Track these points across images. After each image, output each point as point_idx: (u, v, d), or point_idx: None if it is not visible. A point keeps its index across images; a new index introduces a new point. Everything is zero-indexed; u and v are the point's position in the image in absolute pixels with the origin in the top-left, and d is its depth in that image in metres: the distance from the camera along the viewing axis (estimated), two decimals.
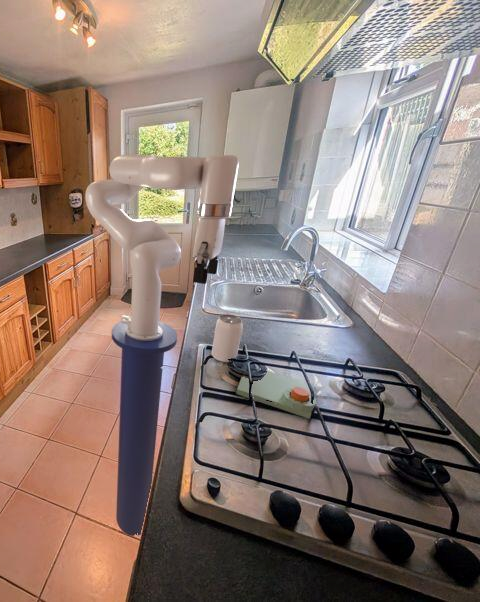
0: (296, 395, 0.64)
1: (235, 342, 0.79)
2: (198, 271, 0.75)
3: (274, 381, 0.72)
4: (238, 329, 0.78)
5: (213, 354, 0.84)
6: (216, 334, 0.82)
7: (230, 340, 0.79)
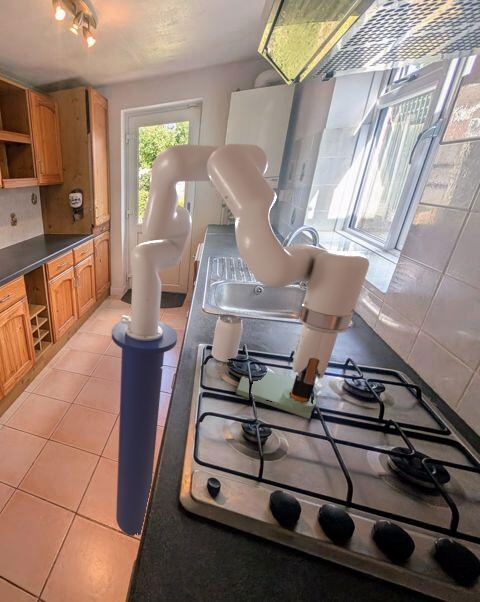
0: (295, 398, 0.64)
1: (235, 342, 0.79)
2: (301, 385, 0.62)
3: (274, 381, 0.72)
4: (238, 329, 0.78)
5: (213, 354, 0.84)
6: (216, 334, 0.82)
7: (230, 340, 0.79)
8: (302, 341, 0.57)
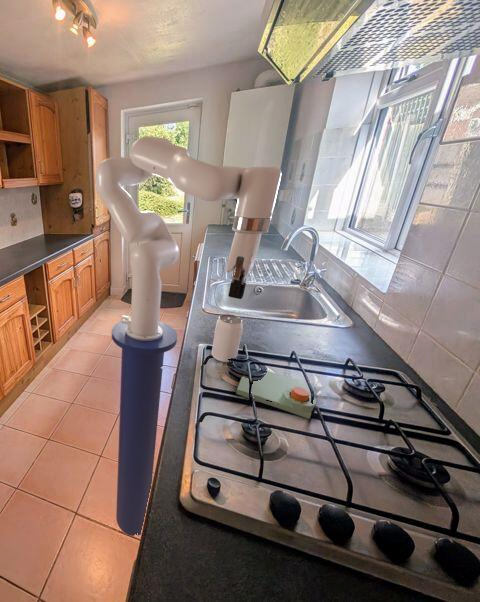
0: (296, 395, 0.64)
1: (235, 342, 0.79)
2: (234, 287, 0.75)
3: (274, 381, 0.72)
4: (238, 329, 0.78)
5: (213, 354, 0.84)
6: (216, 334, 0.82)
7: (230, 340, 0.79)
8: (232, 244, 0.70)
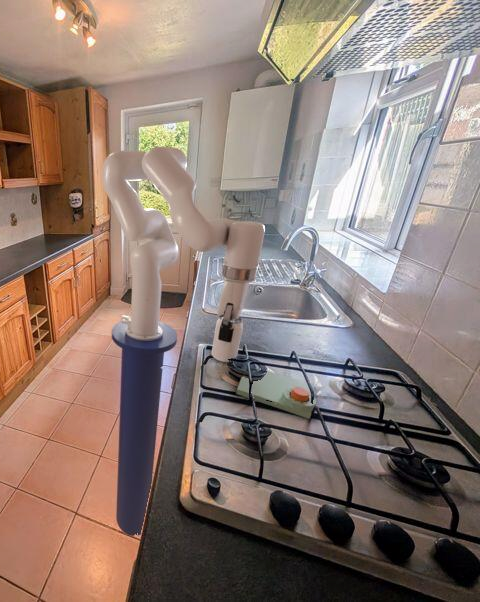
0: (296, 395, 0.64)
1: (235, 342, 0.79)
2: (223, 331, 0.78)
3: (274, 381, 0.72)
4: (238, 329, 0.78)
5: (213, 354, 0.84)
6: (216, 334, 0.82)
7: None
8: (222, 290, 0.75)
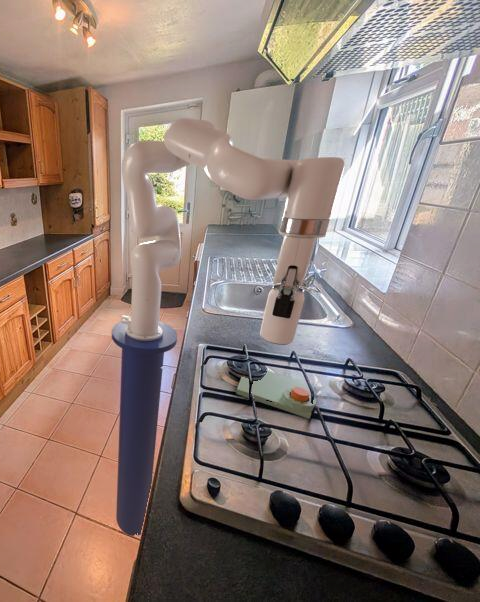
0: (296, 395, 0.64)
1: (295, 318, 0.63)
2: (281, 304, 0.61)
3: (274, 381, 0.72)
4: (300, 300, 0.61)
5: (263, 335, 0.67)
6: (269, 309, 0.65)
7: None
8: (281, 250, 0.59)
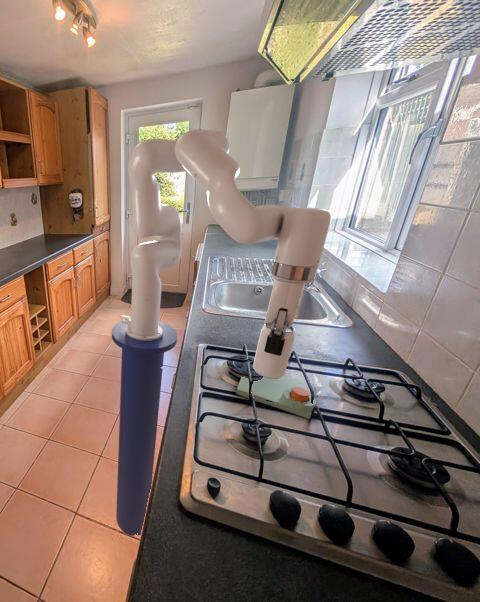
0: (296, 395, 0.64)
1: (286, 355, 0.66)
2: (272, 342, 0.64)
3: (274, 381, 0.72)
4: (290, 339, 0.64)
5: (256, 368, 0.70)
6: (261, 345, 0.68)
7: None
8: (272, 293, 0.62)
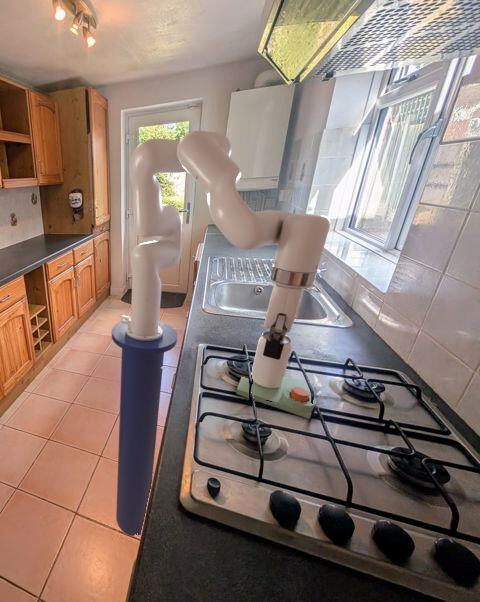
0: (296, 395, 0.64)
1: (283, 365, 0.67)
2: (271, 346, 0.63)
3: None
4: (287, 350, 0.65)
5: (254, 378, 0.71)
6: (258, 355, 0.69)
7: (276, 363, 0.67)
8: (271, 298, 0.62)
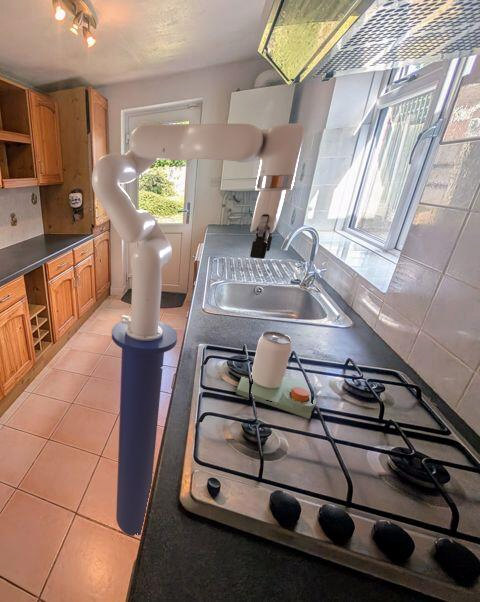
0: (296, 395, 0.64)
1: (283, 365, 0.67)
2: (256, 246, 0.73)
3: None
4: (287, 350, 0.65)
5: (254, 378, 0.71)
6: (258, 355, 0.69)
7: (276, 363, 0.67)
8: (256, 202, 0.72)
